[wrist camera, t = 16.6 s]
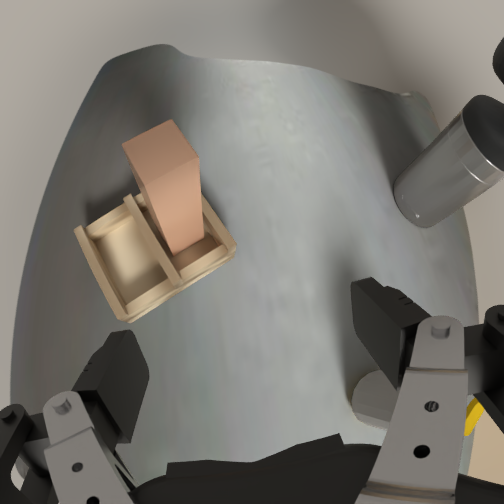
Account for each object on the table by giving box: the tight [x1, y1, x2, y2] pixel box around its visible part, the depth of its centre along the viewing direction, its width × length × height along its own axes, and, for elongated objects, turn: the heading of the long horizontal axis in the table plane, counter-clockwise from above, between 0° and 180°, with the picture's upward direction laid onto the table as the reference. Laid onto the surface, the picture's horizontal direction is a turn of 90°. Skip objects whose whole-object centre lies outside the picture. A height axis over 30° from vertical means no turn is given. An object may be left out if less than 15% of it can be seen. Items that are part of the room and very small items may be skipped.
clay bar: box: [122, 119, 204, 256], centre depth 27 cm, size 4×4×16 cm
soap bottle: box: [351, 370, 484, 436], centre depth 24 cm, size 7×7×18 cm
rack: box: [74, 193, 237, 323], centre depth 33 cm, size 14×11×5 cm
